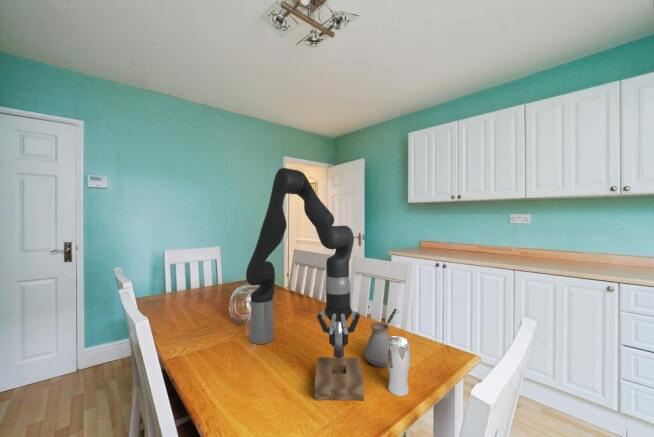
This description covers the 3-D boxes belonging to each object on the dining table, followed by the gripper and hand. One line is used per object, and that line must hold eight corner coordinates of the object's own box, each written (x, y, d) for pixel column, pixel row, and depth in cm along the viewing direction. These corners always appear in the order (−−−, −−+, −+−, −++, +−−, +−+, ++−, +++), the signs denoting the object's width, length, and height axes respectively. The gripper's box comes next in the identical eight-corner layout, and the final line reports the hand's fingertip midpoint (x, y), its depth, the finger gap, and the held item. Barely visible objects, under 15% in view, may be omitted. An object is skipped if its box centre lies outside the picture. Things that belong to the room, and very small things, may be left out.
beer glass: (383, 383, 87) (383, 336, 86) (405, 381, 87) (405, 334, 87) (390, 397, 80) (390, 346, 79) (414, 396, 80) (413, 345, 80)
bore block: (315, 400, 79) (314, 382, 79) (317, 372, 93) (317, 357, 93) (363, 400, 79) (363, 383, 79) (359, 372, 93) (359, 357, 93)
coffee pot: (388, 374, 91) (387, 329, 91) (358, 363, 98) (357, 321, 98) (410, 348, 109) (410, 311, 108) (383, 340, 115) (383, 305, 115)
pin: (333, 357, 84) (333, 321, 84) (333, 352, 87) (333, 318, 87) (344, 357, 84) (343, 321, 84) (343, 352, 87) (343, 318, 87)
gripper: (314, 293, 82) (315, 351, 82) (361, 293, 81) (362, 351, 82) (316, 287, 89) (316, 339, 89) (359, 286, 89) (360, 339, 89)
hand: (338, 344), depth 86 cm, fingers closed on pin, 3 cm apart
